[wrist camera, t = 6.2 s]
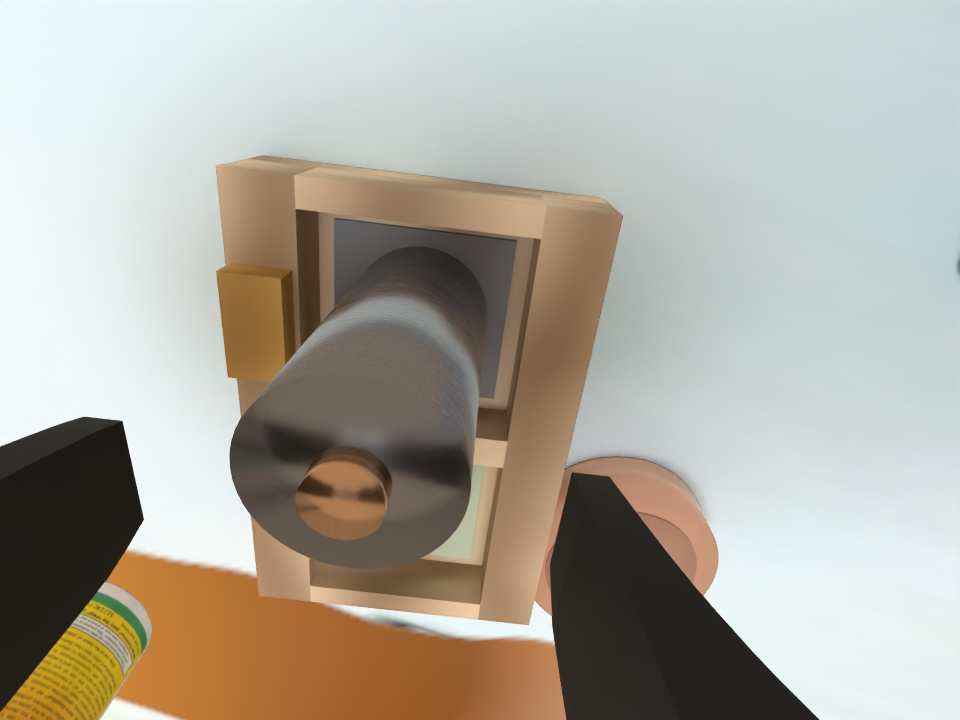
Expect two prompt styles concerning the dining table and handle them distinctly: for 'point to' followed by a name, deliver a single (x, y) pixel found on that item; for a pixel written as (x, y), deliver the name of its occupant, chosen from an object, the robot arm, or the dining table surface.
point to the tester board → (505, 365)
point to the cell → (372, 419)
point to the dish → (648, 518)
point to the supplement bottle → (86, 661)
